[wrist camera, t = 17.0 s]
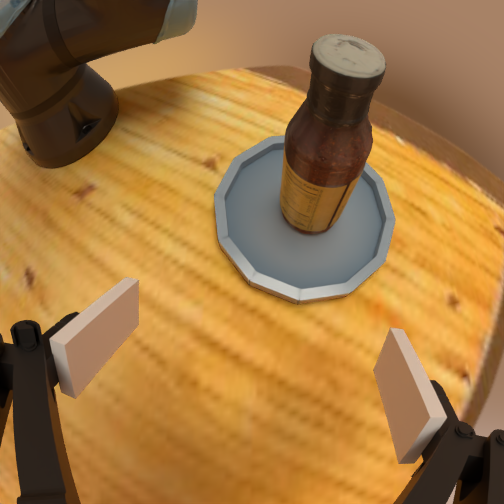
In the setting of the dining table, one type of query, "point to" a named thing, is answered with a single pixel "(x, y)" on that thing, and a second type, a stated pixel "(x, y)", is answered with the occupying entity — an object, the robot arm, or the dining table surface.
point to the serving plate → (292, 241)
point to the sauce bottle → (330, 133)
